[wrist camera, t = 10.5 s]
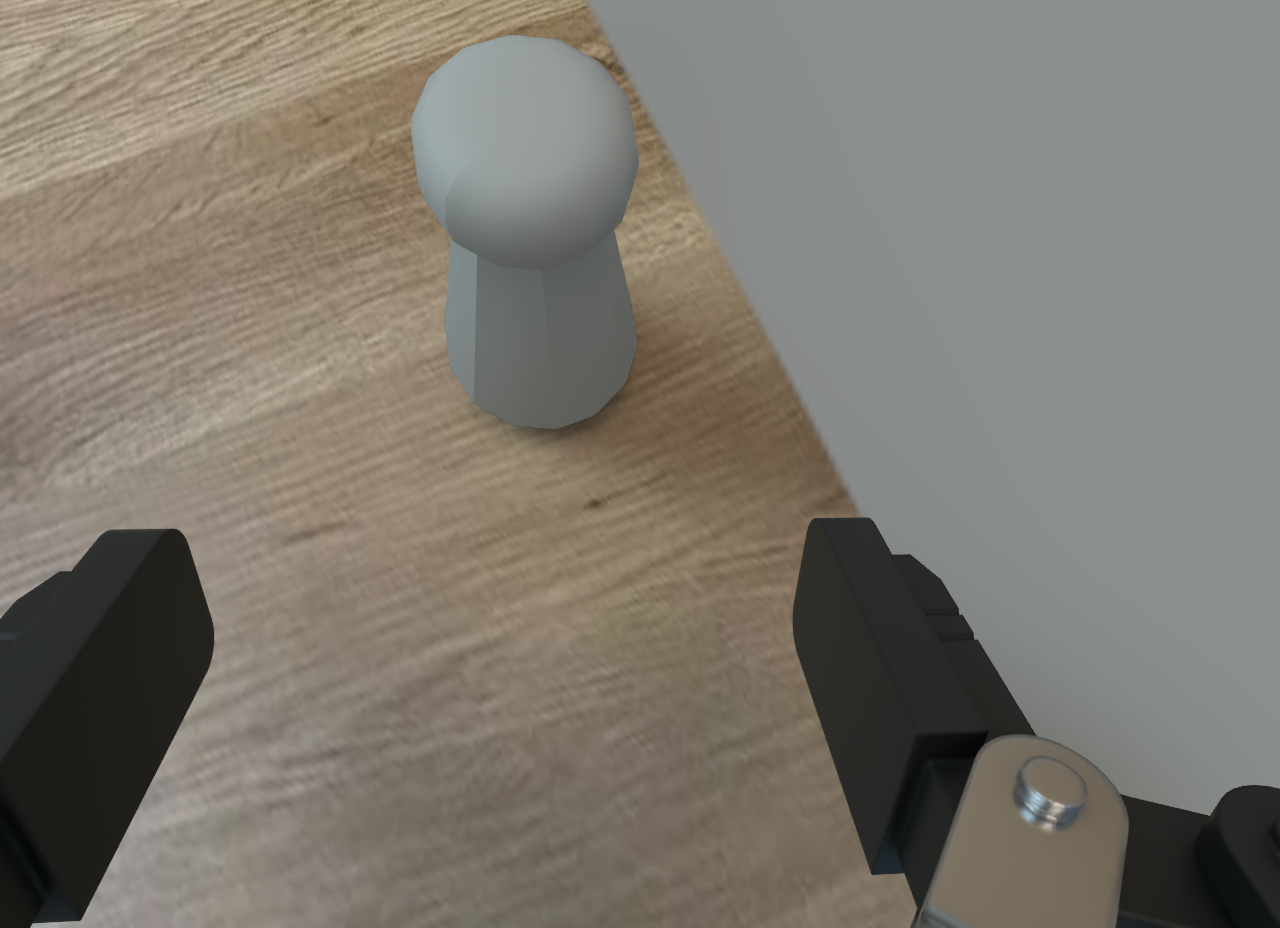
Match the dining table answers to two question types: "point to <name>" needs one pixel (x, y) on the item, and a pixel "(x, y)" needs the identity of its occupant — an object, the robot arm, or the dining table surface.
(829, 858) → the dining table surface
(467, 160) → the salt shaker
